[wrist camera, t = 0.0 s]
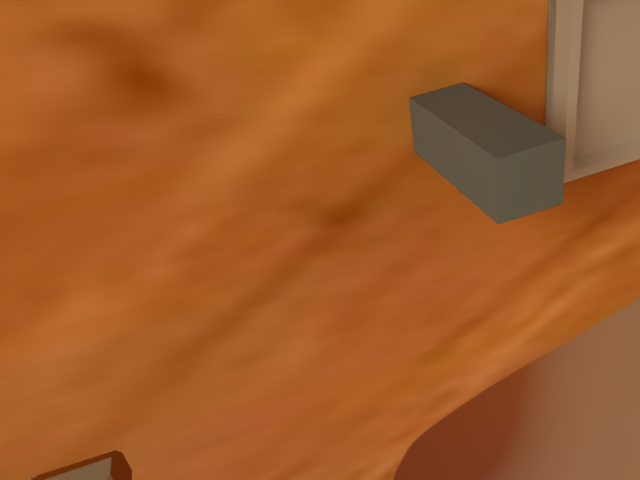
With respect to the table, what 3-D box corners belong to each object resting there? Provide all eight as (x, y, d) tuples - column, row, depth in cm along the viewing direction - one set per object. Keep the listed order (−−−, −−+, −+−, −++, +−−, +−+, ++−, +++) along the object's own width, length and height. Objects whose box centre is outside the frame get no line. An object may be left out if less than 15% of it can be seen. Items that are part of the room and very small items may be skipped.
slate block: (409, 97, 49) (497, 158, 37) (463, 82, 49) (566, 137, 38) (414, 151, 51) (498, 224, 40) (466, 136, 52) (562, 203, 40)
